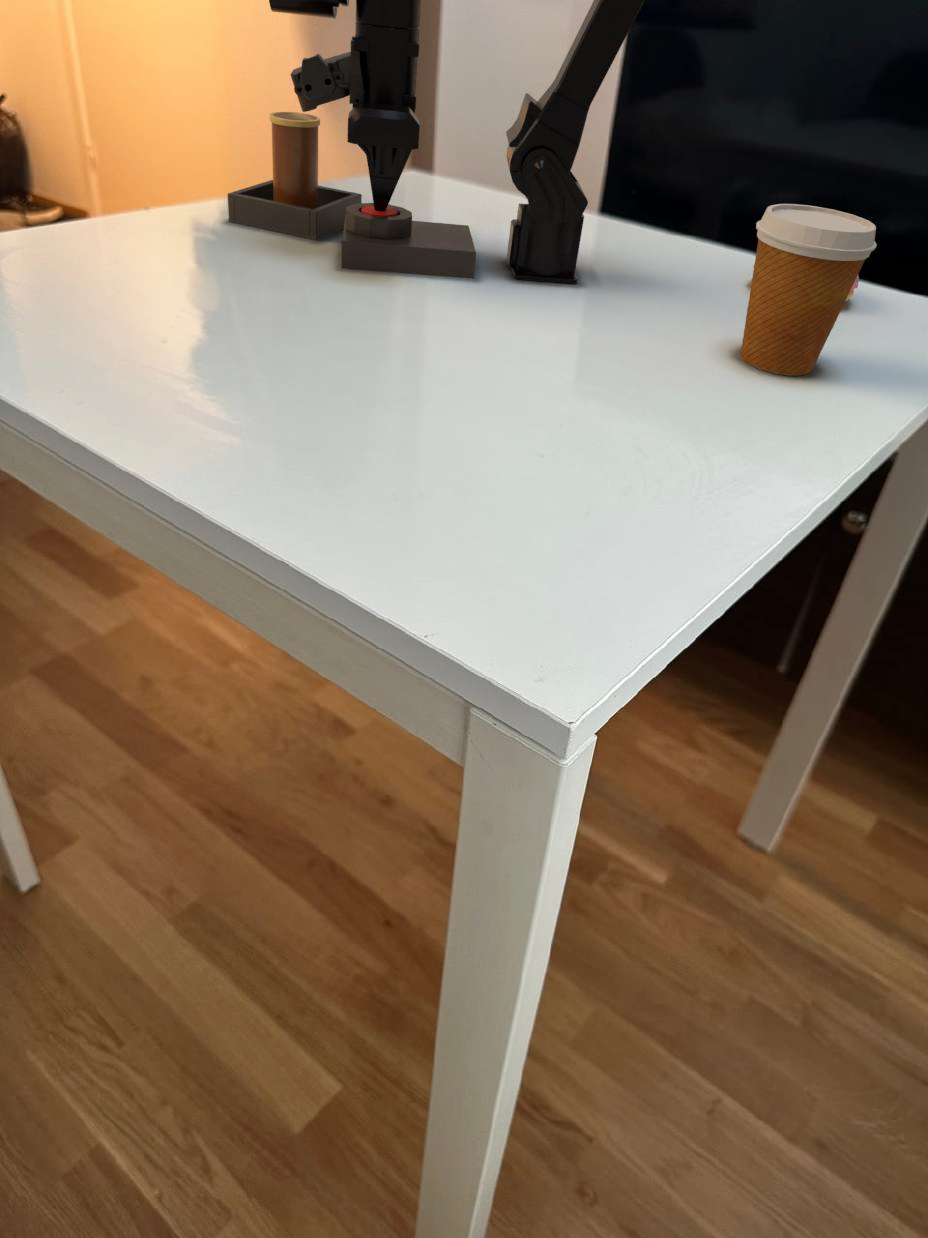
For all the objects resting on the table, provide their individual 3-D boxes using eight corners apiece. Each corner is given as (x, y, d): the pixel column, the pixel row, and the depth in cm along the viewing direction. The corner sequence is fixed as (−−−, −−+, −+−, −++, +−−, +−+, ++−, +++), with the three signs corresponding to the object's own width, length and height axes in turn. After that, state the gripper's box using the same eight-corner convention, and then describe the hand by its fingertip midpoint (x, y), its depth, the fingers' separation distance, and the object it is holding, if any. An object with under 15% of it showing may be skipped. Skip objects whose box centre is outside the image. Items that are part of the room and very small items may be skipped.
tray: (361, 222, 105) (362, 193, 103) (316, 241, 97) (316, 211, 95) (279, 205, 108) (278, 177, 106) (228, 223, 99) (227, 193, 98)
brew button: (396, 225, 94) (397, 206, 93) (396, 234, 92) (397, 215, 91) (361, 222, 94) (361, 203, 93) (360, 231, 91) (360, 212, 90)
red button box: (466, 251, 100) (470, 207, 97) (473, 279, 92) (477, 232, 89) (344, 241, 98) (345, 196, 95) (341, 269, 90) (342, 220, 88)
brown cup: (329, 221, 102) (330, 120, 96) (289, 225, 99) (288, 121, 93) (301, 209, 105) (300, 110, 99) (262, 213, 102) (259, 112, 96)
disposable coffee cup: (773, 388, 76) (821, 235, 69) (699, 346, 82) (736, 202, 75) (855, 377, 80) (908, 232, 73) (778, 338, 86) (820, 201, 79)
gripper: (303, 7, 89) (304, 182, 98) (287, 23, 74) (290, 227, 84) (418, 20, 90) (409, 191, 100) (425, 38, 75) (413, 238, 85)
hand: (380, 209), depth 92 cm, fingers closed, pressing on brew button
